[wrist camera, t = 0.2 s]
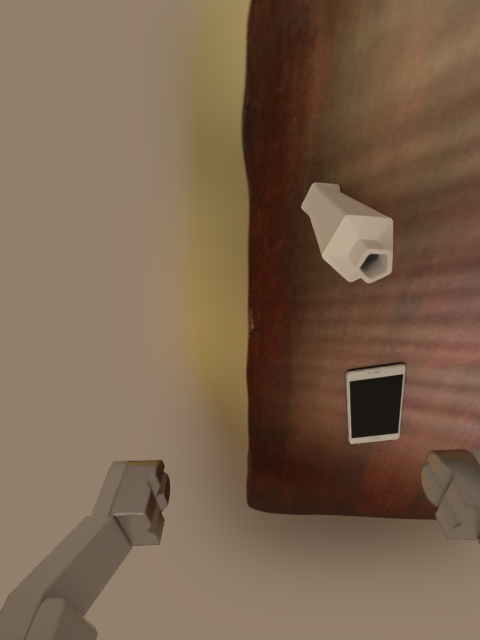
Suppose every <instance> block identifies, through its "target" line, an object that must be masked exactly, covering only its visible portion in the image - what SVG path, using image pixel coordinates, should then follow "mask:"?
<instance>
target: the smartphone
mask: <svg viewBox="0 0 480 640" xmlns="http://www.w3.org/2000/svg"><path fill="white" fill-rule="evenodd" d="M405 371H406V366H405V365H404V364H397V365H390V366H382V367H375V368H368V369H361V370H354V371H348V372H347V373H346V388H347V411H348V434H349V442H350V443H351V444H356V443H365V442H374V441H383V440H392V439H398V438H399V437H400V426H401V415H402V404H403V396H404V394H403V393H404V385H405Z"/></svg>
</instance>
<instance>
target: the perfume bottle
mask: <svg viewBox="0 0 480 640" xmlns="http://www.w3.org/2000/svg"><path fill="white" fill-rule="evenodd" d="M301 208H302V210H303V211H304V212H305V213H306V214H308V215H309V216H310V219H311V222H312V226H313V229H314V232H315V235H316V238H317V242H318V245H319V248H320V251H321V254H322V258H323V259H324V260H325V261H326V262H327V263H328V264H330V265H331V266H332V267H333V268H334V269H335V270H336V271H337V272H338V273H339V274H341V275H342V276H343V277H344V278H345V279H346V280H347V281H349V282H353V281H355V280H357V279H359V278H362V279H363V280H364V281H365V282H366V283H372V282H375V281H377V280H379V279H381V278H383V277H385V276H387V275H389V274H390V273H391V272H392V259H393V220H392V219H391V218H389V217H387V216H385V215H383V214H381V213H379V212H377V211H376V210H374V209H372V208H370V207H368V206H366V205H364V204H362V203H360V202H358V201H356V200H354V199H352V198H350V197H348V196H347V195H345V194H343V193H341V192H340V186H339V185H338V184H328V183H313V184H312V185H311V187H310V189H309V191H308V193H307V195H306V197H305V199H304V201H303V203H302V206H301Z"/></svg>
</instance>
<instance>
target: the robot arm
mask: <svg viewBox="0 0 480 640" xmlns="http://www.w3.org/2000/svg"><path fill="white" fill-rule="evenodd" d="M426 459H427V461H428V463H427V464H425V465H424V466H422V469H421V473H420V475H421V484H422V487H423V490H424V492H425V495H426V497H427V499H428V500H429V501H431V502H432V503H433V504H434V505H435V506H436V511H435V516H436V518H437V521H438V523H439V525H440V527H441V529H442V531H443V533H444V535H445V538H446V540H479V541H478V542H479V543H480V449H452V450H433V451H430V452H428V453H427V456H426ZM164 467H165V466H164V463H163V461H162V460H148V461H114V462H113V464H112V465H111V466H110V468H109V470H108V473H107V476H106V478H105V481H104V483H103V486H102V488H101V491H100V494H99V496H98V499H97V502H96V504H95V507H94V509H93V512H92V514H91V516H89V517H85V518H84V519H83V520H82V521H81V522H80V523H79V524H78V525H77V526H76V527H75V528H74V529H73V530H72V531H71V533H70V534H68V535H67V536H66V537H65V538H64V539H63V541H62V542H61V543H60V544H59V545H58V546H57V547H56V548H55V549H54V550H53V551H52V552H51V553H50V554H49V555H48V556H47V557H46V558H45V559H44V560H43V561H42V562H41V563H40V564H39V565H38V566H37V567H36V568H35V569H34V570H33V571H32V572H31V573H30V574H29V575H28V576H27V577H26V578H25V579H24V580H23V581H22V582H21V583H20V584H19V585H18V586H17V587H16V588H15V589H14V590H13V592H11V594H10V595H9V596H8V597H7V600H6V602H5V603H4V605H3V608H2V610H1V612H0V640H96V638H97V631H96V628H95V627H94V626H93V625H92V624H91V623H90V622H89V621H87V620H86V619H85V618H84V615H85V614H86V612H87V611H88V610H89V608H90V607H91V605H92V604H93V602H94V601H95V600H96V598H97V597H98V596H99V594H100V593H101V591H102V590H103V589H104V587H105V586H106V584H107V582H108V581H109V580H110V579H111V577H112V576H113V574H114V573H115V571H116V570H117V569H118V567H119V566H120V565H121V563H122V562H123V560H124V559H125V557H126V556H127V555H128V553H129V552H130V550H131V549H132V546H141V545H159V544H160V540H161V536H162V531H163V526H164V518H163V516H162V513H161V512H162V511H163V510H164V509H165V508H166V507H167V506H168V501H169V495H170V481H169V477H168V474H166V473H165V472H164Z"/></svg>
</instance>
